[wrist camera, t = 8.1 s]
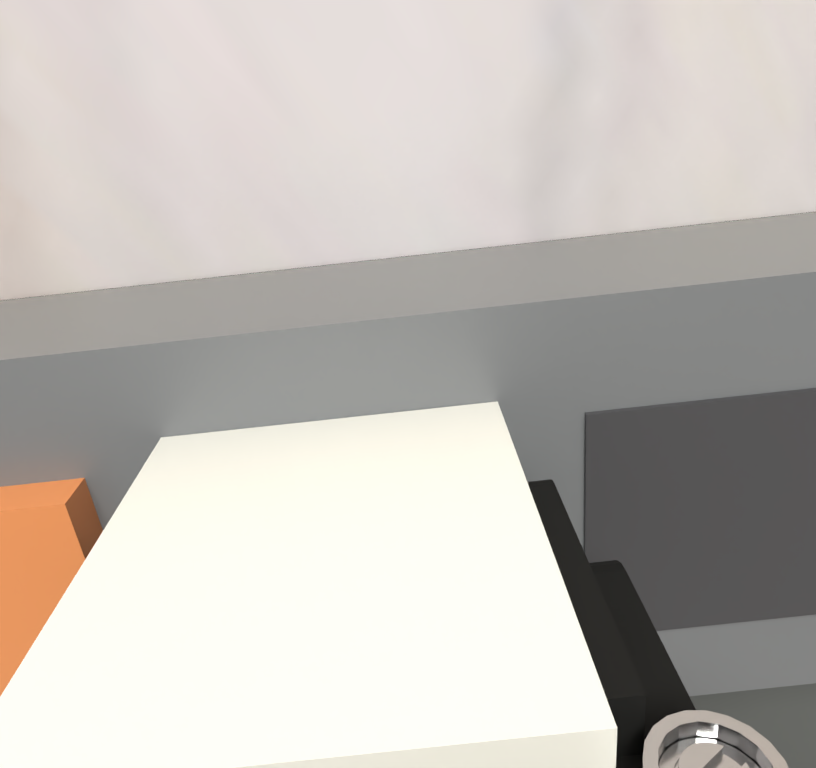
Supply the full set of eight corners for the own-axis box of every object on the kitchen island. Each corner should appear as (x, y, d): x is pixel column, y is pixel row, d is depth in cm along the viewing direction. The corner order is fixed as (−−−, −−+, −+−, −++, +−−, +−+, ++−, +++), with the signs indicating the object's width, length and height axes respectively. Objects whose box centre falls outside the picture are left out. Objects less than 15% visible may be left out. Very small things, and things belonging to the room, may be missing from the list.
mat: (1023, 579, 16) (1038, 590, 16) (926, 860, 21) (936, 873, 20) (571, 626, 16) (576, 638, 16) (571, 896, 21) (574, 910, 21)
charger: (497, 401, 10) (622, 745, 5) (510, 653, 12) (609, 1083, 7) (161, 437, 10) (-75, 817, 5) (231, 682, 12) (118, 1133, 7)
